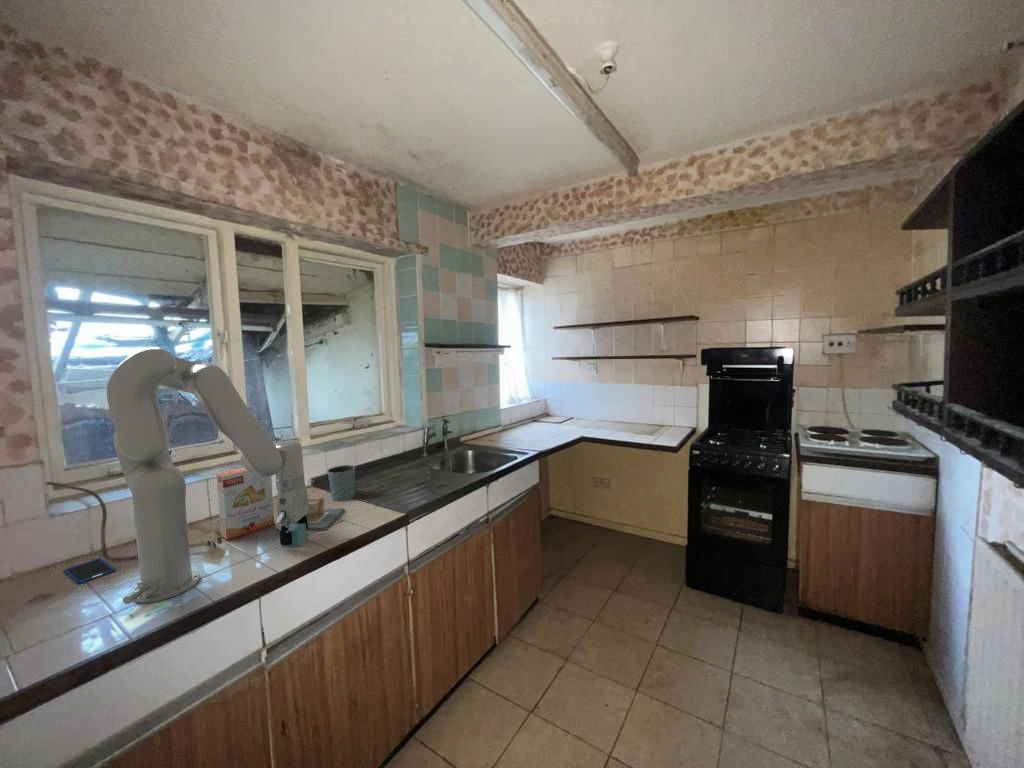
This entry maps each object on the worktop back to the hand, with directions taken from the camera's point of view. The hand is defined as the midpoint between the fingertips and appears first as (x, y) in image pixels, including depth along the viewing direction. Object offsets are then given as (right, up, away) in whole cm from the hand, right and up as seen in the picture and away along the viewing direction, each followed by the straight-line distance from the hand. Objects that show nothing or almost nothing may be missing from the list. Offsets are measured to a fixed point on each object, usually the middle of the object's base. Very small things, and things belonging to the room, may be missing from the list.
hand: (294, 536), depth 121 cm
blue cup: (-1, +1, +38) cm, 38 cm away
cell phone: (-49, -5, -14) cm, 51 cm away
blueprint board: (-3, -1, +16) cm, 16 cm away
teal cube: (0, -2, 0) cm, 2 cm away
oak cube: (-3, +1, +16) cm, 16 cm away
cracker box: (-20, -2, +9) cm, 22 cm away
